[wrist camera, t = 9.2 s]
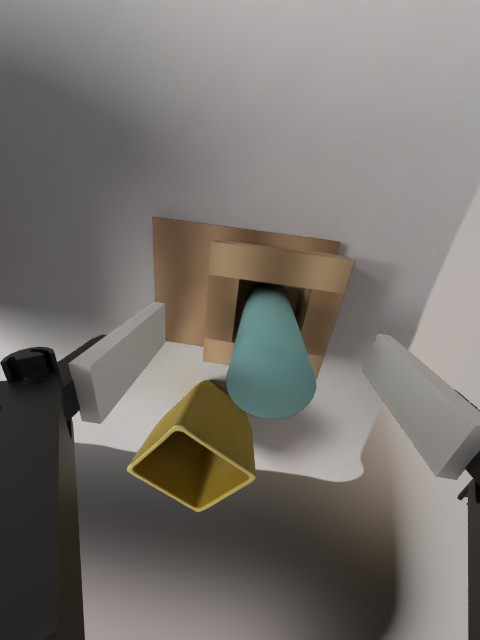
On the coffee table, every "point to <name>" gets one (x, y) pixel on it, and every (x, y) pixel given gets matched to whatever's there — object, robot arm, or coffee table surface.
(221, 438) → the flower pot
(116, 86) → the coffee table surface
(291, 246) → the socket board
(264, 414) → the peg
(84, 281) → the coffee table surface
